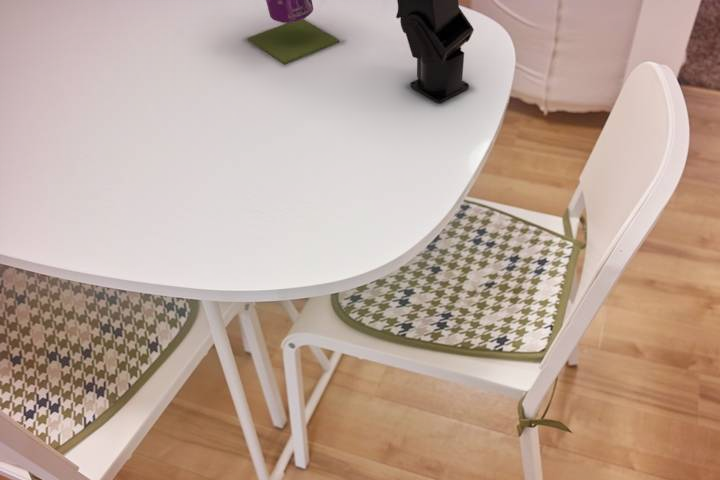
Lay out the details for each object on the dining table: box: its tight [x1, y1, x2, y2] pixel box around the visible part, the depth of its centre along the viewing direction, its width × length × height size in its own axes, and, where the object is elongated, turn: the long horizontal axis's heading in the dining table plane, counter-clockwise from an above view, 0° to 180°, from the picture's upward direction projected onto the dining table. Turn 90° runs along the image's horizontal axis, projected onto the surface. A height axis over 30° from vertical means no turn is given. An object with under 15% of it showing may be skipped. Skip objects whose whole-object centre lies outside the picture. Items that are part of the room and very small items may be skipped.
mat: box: [247, 19, 340, 65], centre depth 102 cm, size 11×11×1 cm
